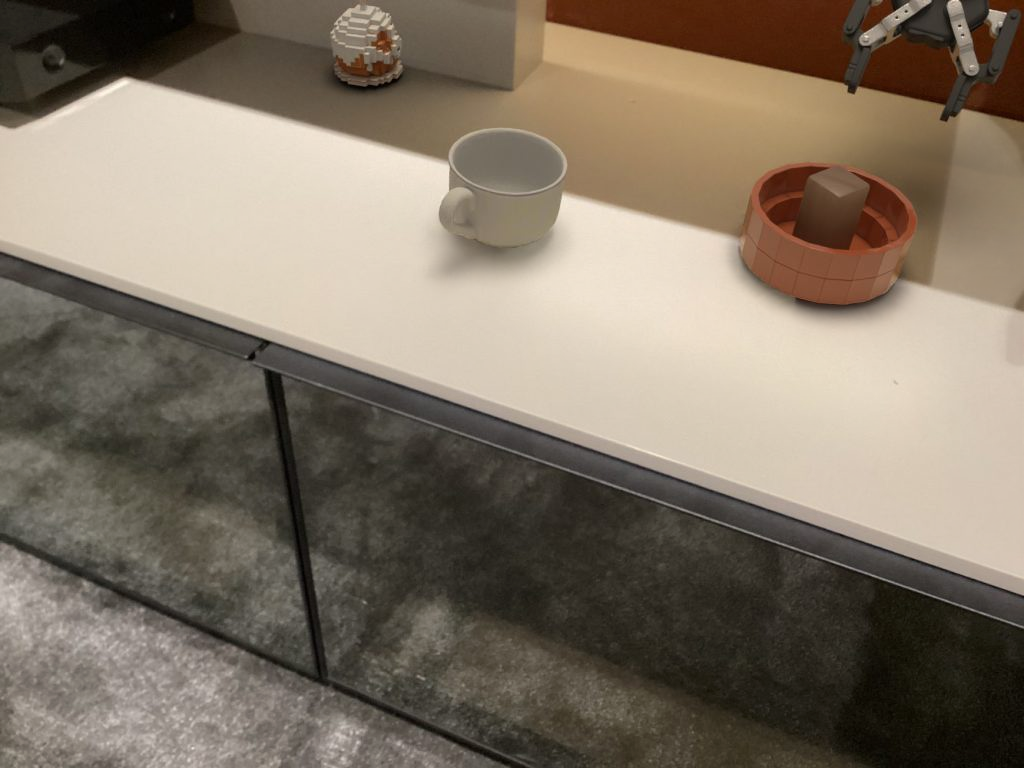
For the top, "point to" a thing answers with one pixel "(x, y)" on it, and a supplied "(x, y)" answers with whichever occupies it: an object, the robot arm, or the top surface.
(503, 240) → the teacup
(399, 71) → the decorative ornament
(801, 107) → the top surface
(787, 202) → the bowl
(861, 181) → the wooden block
